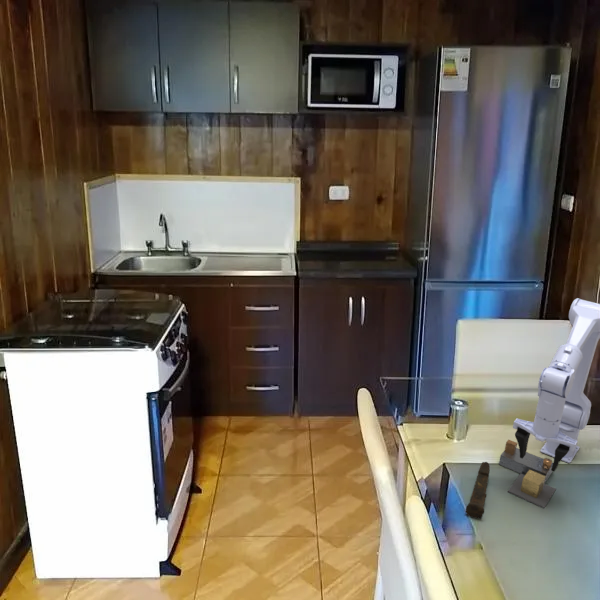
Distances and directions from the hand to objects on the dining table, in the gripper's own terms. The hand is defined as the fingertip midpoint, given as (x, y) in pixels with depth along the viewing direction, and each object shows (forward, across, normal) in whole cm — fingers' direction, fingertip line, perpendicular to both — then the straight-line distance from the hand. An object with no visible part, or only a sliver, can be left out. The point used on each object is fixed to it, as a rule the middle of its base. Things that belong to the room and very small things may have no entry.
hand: (538, 462), depth 148 cm
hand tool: (+9, -10, -10) cm, 17 cm away
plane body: (+8, -4, +8) cm, 12 cm away
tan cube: (+8, 0, 0) cm, 8 cm away
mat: (+8, 0, 0) cm, 9 cm away
